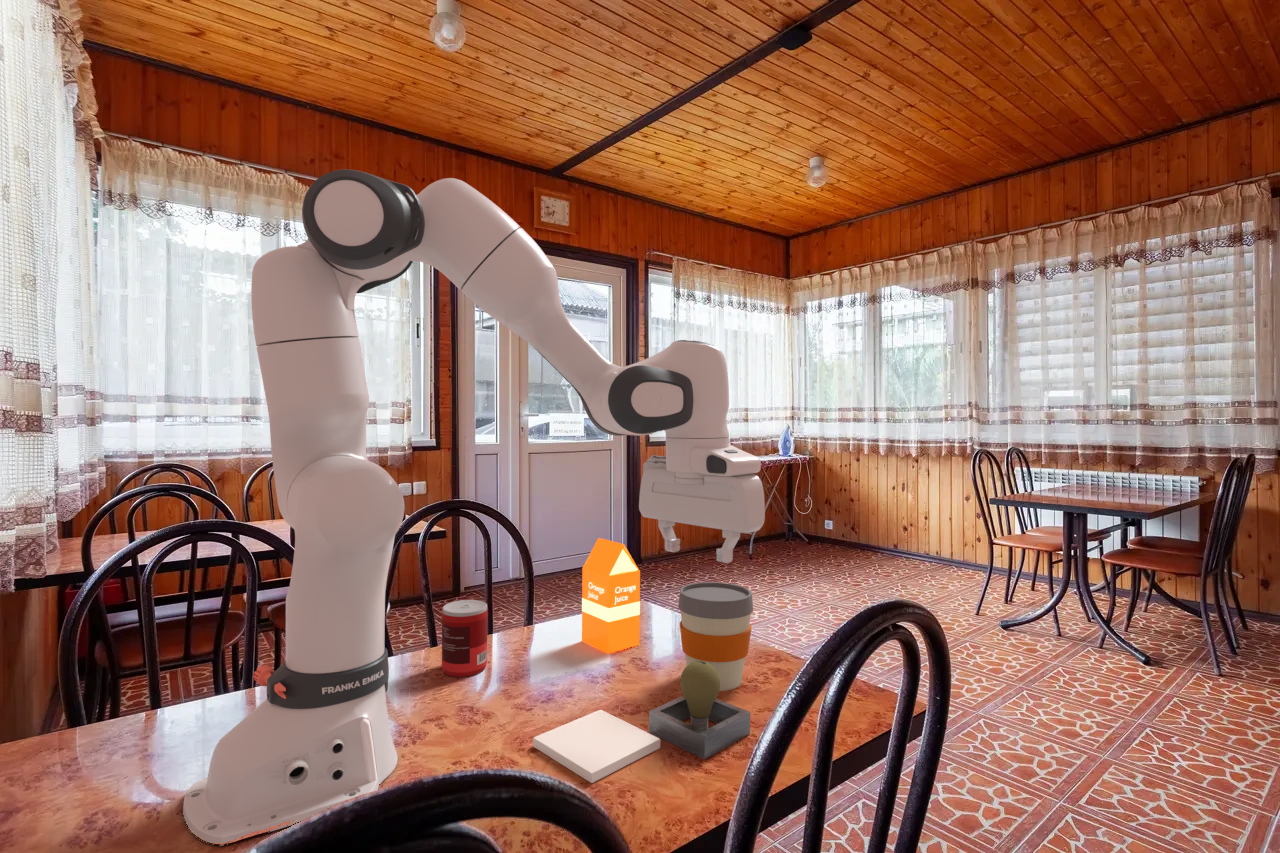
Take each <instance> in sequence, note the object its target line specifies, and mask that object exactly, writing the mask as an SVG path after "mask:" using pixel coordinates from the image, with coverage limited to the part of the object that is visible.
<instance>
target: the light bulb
mask: <svg viewBox="0 0 1280 853" xmlns="http://www.w3.org/2000/svg"><path fill="white" fill-rule="evenodd" d="M679 683H680V684H679V685H680V689H681V692H682V696H684V697H685V699H686V701H687V704H688V709H689V712H690V715H691V717H690V725H691V726H693V727H696V728H698V729H700V730H702V731H705V730H707V729H709V720H708V716H709V715H710V713H711V709H712V705H713V703H714V701H715V699H717V697H718V695H719V693H720V691H719V690H720V677H719V674H718V672H717V670H716V669H715V668H714V667H713V666H712V665H711V664H709V663H708V662H705V661H694V662H692V663H690V664H689V665H687V664H686V666H685V667H684V669H683V670H682V672H681V675H680V681H679Z"/></svg>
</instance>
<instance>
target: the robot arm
mask: <svg viewBox="0 0 1280 853" xmlns="http://www.w3.org/2000/svg"><path fill="white" fill-rule="evenodd" d="M301 218H302V224H303V229H304V231H305V233H306V234H305V235H306V236H307V239H306V241H305V242H303V243H301V244H297V245H293V246H292V245H291V246H290V245H289V246H283V247H278V248H276V249H273V250H271V251H268V252H266V253H265V254H263V255H262V256H260V257H259V258H258V259H257V260H256V262H255V263H254V264H253V267H252V272H251V286H250V287H251V288H250V289H251V293H250V294H251V295H250V296H251V299H250V300H251V314H252V315H251V318H252V324H253V325H252V328H253V334H254V340H255V346H256V352H257V357H258V364H259V368H260V374H261V379H262V385H263V389H264V390H263V391H264V394H265V401H266V406H267V413H268V419H269V420H268V421H269V433H270V434H269V435H270V436H269V437H270V447H271V448H270V449H271V458H272V459H271V460H272V469H273V476H274V477H273V478H274V485H275V492H276V498H277V505H278V510H279V512H280V515H281V516H282V518H283V519H284V521H285V522H286V523H287V524H288V525H289V526H290V528H292V529H293V530H294V551H293V562H292V567H291V568H292V569H291V574H290V575H291V576H290V582H289V587H288V591H287V594H286V597H285V660H284V661H283V663H282V664H280V666H279V667H277V669H276V670H274V669H273V668H272V667H271V666H270V665H268V664H265V665H260V666H258V667H257V668H256V671H254V672H253V674H254V675H253V680H254V681H255V682H257V684H258V685H259V686H261V687H266V699H264V700H263V701H262V702H261V703H260V704H259V705H258V706H257V707H256V708H254V709H252V711H251V712H250V713H249V714H248V715H247V716H246V717H244V718H243V719H242V720H241V721H239V723H237V724H236V725H235V726H234V727H233V728H232V729H230V730H229V731H228V732H227V733H226V734H224V735H223V736H222V737H221V738H220V739H219V741H218V742H217V744H216V745H215V747H214V749H213V752H212V755H211V759H210V761H209V766H208V772H207V777H205V778H203V779H201V780H198V781H196V782H194V783H193V784H192V785H191V786H190V787H189V789H188V790H187V792H186V793H185V795H184V799H183V806H182V816H183V815H184V817H183V820H184V819H185V820H184V822H185V821H186V823H185V825H186V824H187V825H188V827H189V828H190V829H191V831H193V833H194V834H196V835H197V836H198V837H200V838H202V839H203V840H205V841H207V842H210V843H221V844H222V843H226V842H229V841H233V840H235V839H238V838H240V837H242V836H244V835H246V834H250V833H251V832H254V831H259V830H264V829H266V828H268V830H269V826H278V825H279V824H281V823H283V822H288V821H290V824H289V825H288V826H286V825H287V824H286V825H285V826H283V825H282V826H280V827H279V828H276V829H273V830H271V831H270V832H274V831H278V830H280V829H284V828H287V827H289V826H294V825H296V824H295V823H297V822H300V821H302V820H304V819H306V818H308V817H310V816H312V815H314V814H316V813H318V812H321V811H323V810H325V809H327V808H330V807H332V806H335V805H337V804H339V803H342V802H344V801H346V800H349V799H352V798H354V797H357V796H359V795H362V794H366V793H370V792H374V791H377V792H378V790H379V788H380V785H381V784H382V782H383V781H385V779H387V778H388V776H390V774H392V772H393V771H394V770H395V768H396V767H397V765H398V760H399V758H398V752H397V750H396V747H395V743H394V740H393V736H392V732H391V727H390V721H389V713H388V705H387V692H388V689H389V677H390V667H389V653H388V649H387V648H386V647H385V635H386V634H385V633H386V632H385V625H386V622H385V621H386V620H385V619H386V618H385V617H386V616H385V614H386V612H385V611H386V590H387V580H388V574H389V570H390V565H391V560H392V554H393V551H394V544H395V538H396V534H397V533H398V531H399V529H400V527H401V525H402V523H403V519H404V515H405V508H406V507H405V499H404V495H403V493H402V490H401V488H400V486H399V485H398V483H397V482H396V481H395V479H394V478H393V477H392V476H391V474H390V473H389V472H388V471H387V470H385V469H384V468H383V467H382V466H380V465H379V464H377V463H375V462H372V461H370V460H369V459H368V456H367V455H368V454H367V453H368V452H367V417H368V410H369V406H370V396H369V390H368V385H367V384H368V383H367V378H366V372H365V366H364V360H363V354H362V348H361V342H360V338H359V337H360V335H359V331H358V330H359V329H358V325H357V319H356V314H355V313H356V312H355V311H356V310H355V300H356V299H355V298H356V294H362V293H364V292H367V291H369V290H372V289H374V288H377V287H378V286H379V287H380V286H382V285H384V284H388V283H391V282H393V281H395V280H396V279H398V278H400V277H401V276H403V275H404V274H405V273H406V272H407V271H408V270H409V268H411V266H412V264H413V263H414V262H420V263H424V264H427V265H429V266H431V267H432V268H434V269H435V270H438V271H439V272H440V273H442V274H443V275H444V276H445V277H446V278H447V279H448V280H449V281H450V282H452V284H453V285H455V287H456V288H457V289H458V290H459V291H461V293H462V294H463V295H465V296H466V298H468V299H469V300H470V301H471V302H473V304H475V305H476V306H477V307H478V308H479V309H481V310H482V311H483V312H485V313H486V314H488V316H490V317H491V318H492V319H494V320H495V321H496V322H499V323H500V324H502V325H503V326H504V327H506V328H507V329H508V330H510V331H511V332H513V333H514V334H516V336H518V337H519V338H520V339H522V340H524V341H525V342H526V343H527V344H528V345H530V346H532V348H533V349H534V350H536V351H537V352H538V353H539V354H540V356H542V357H543V358H544V360H546V361H547V362H548V363H549V364H550V366H552V367H553V368H554V369H555V370H556V371H557V372H558V374H560V375H561V377H562V378H563V379H565V380H566V382H568V383H569V385H570V386H571V387H572V388H573V389H574V391H575V392H576V393H577V395H578V396H579V399H580V401H581V403H582V406H583V408H584V411H585V412H586V415H587V417H588V419H589V420H590V422H591V423H592V425H593V426H594V427H596V429H598V430H600V432H603V433H605V434H607V435H609V436H614V437H615V436H617V437H619V436H623V437H624V436H639V437H641V436H648V435H652V434H655V433H657V432H662V431H664V433H665V455H662V456H661V455H656V454H653V455H651V456H650V457H648V458H647V459H646V460H645V462H644V463H643V466H642V476H641V481H640V487H639V488H640V489H639V497H638V498H639V501H638V511H639V512H640V514H641V516H642V517H643V518H647V519H648V518H649V519H654V520H657V521H658V524H657V526H658V529H659V531H660V533H661V535H662V538H663V540H664V550H665V551H666V552H671V553H676V552H679V551H680V550H681V545H680V544H681V538H677V535H676V534H675V531H674V527H675V526H676V523H680V524H685V525H691V526H697V527H702V528H709V529H710V528H711V529H717V530H722V534H721V536H722V538H723V539H725V540H724V541H723V542H724V543H723V544H722V547H720V548H716V552H715V554H716V561H717V562H718V563H723V564H729V563H732V562H733V559H734V557H733V556H734V554H733V553H734V552H733V551H734V549H735V546H736V545H737V543H738V541H739V540H740V537H741V534H749V533H750V534H751V533H753V532H758V531H760V530H761V528H762V527H763V526H764V523H765V518H766V516H765V515H766V513H765V512H766V510H765V504H766V503H765V492H764V486H763V483H762V480H761V478H759V476H758V475H757V474H758V473H759V472H760V471H761V466H762V464H761V463H762V462H761V459H760V458H759V457H758V456H757V455H753V454H751V453H748V452H747V451H745V450H742V449H740V448H738V447H737V446H734V445H732V444H730V432H729V429H728V426H727V425H728V424H727V415H728V410H729V408H730V386H729V375H728V374H729V372H728V366H727V361H726V357H725V354H724V352H723V351H722V350H721V349H720V348H719V347H717V346H715V345H714V344H711V343H708V342H706V341H705V342H704V341H699V340H689V339H680V340H676V341H673V342H671V343H670V344H669V346H667V347H666V348H665V349H663V350H661V351H659V352H657V353H656V354H654V355H652V356H649V357H647V358H645V359H643V360H640V361H637V362H635V363H632V364H629V365H625V366H619V365H617V364H614V363H613V362H611V361H610V360H608V359H607V358H605V357H604V356H603V355H602V354H601V353H600V352H599V351H598V350H597V349H596V347H595V346H594V345H593V344H592V343H591V342H590V341H589V340H588V339H587V337H585V336H584V335H583V334H582V332H580V330H579V329H577V327H576V326H575V325H574V324H573V323H572V321H571V320H570V319H569V317H568V316H567V314H566V312H565V310H564V306H563V304H562V301H561V298H560V297H561V296H560V289H559V281H558V274H557V271H556V269H555V267H554V266H553V264H552V262H551V261H550V259H549V258H548V257H547V255H546V254H545V252H544V251H543V249H542V247H540V246H539V245H538V243H537V242H536V241H535V239H533V238H532V237H531V236H530V234H528V232H527V231H525V229H524V228H522V227H521V225H519V224H518V223H517V221H515V220H514V219H513V218H512V217H511V216H510V215H508V213H506V212H505V211H504V210H503V209H502V208H500V207H499V206H498V205H497V204H496V203H494V202H493V201H492V200H490V199H489V197H487V196H485V195H484V194H483V193H481V192H480V191H478V190H477V189H476V188H474V187H473V186H472V185H470V184H468V183H467V182H465V181H463V180H461V179H458V178H454V177H448V178H441V179H438V180H436V181H434V182H431V183H430V184H429V185H427V186H426V187H425V188H423V189H422V190H421V191H420V192H419V193H417V194H416V192H415V190H414V189H413V188H412V187H411V186H409V185H406V184H404V183H400V182H397V181H394V180H389V179H385V178H383V177H380V176H378V175H374V174H371V173H368V172H365V171H361V170H356V169H345V168H344V169H336V170H333V171H330V172H327V173H325V174H323V175H321V176H319V177H318V178H317V179H316V180H315V181H313V183H312V184H311V185H310V186H309V188H308V189H307V191H306V193H305V195H304V198H303V201H302V207H301ZM379 784H380V785H379ZM293 819H294V822H293V821H292V820H293ZM296 820H298V821H296ZM291 822H293V823H291ZM300 823H301V822H300ZM293 824H294V825H293ZM297 824H298V823H297ZM187 825H186V826H187ZM188 827H187V828H188ZM189 828H188V829H189ZM191 831H190V832H191ZM270 832H269V833H270ZM207 842H206V843H207Z"/></svg>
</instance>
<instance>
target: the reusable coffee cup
mask: <svg viewBox="0 0 1280 853" xmlns="http://www.w3.org/2000/svg"><path fill="white" fill-rule="evenodd" d="M679 590H680V591H679V598H678V609H679V611H680V617H681V620H680V622H679V629H680V630H679V632H680V639H681V640H680V642H681V648H682V649H681V650H682V651H683V653H684V655H685V662H686V664H685V665H686V666H687V665H689V664H690V663H692V662H694V661H705V662H708V663H709V664H711V665H712V666H713V667H714V668H715V669H716V670H717V672H718V674H719V677H720V690H719V692H726V691H731V690H734V689H737V688H739V686H741V684H742V679H743V674H744V665H745V659H746V657H747V656H748V655H749V654H748V653H749V648H750V641H751V635H752V629H753V628H752V625H751V617H752V616H751V615H752V613H753V612H754V603H753V592H752V591H751V589H749V588H747V587H745V586H742V585H738V584H734V583H727V582H717V581H715V582H714V581H709V582H708V581H707V582H706V581H704V582H693V583H689V584H686V585H683V586H682V587H680V589H679Z"/></svg>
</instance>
